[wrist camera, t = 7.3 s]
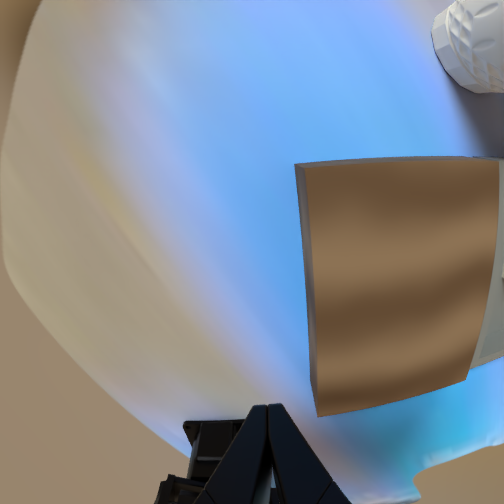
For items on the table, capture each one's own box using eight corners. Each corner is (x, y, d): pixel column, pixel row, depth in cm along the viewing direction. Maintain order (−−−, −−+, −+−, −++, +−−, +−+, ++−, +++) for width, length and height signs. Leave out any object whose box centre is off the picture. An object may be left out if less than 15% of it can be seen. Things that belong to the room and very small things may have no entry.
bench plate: (444, 351, 22) (465, 380, 18) (310, 380, 23) (317, 417, 19) (462, 156, 17) (498, 161, 13) (294, 164, 18) (304, 168, 14)
